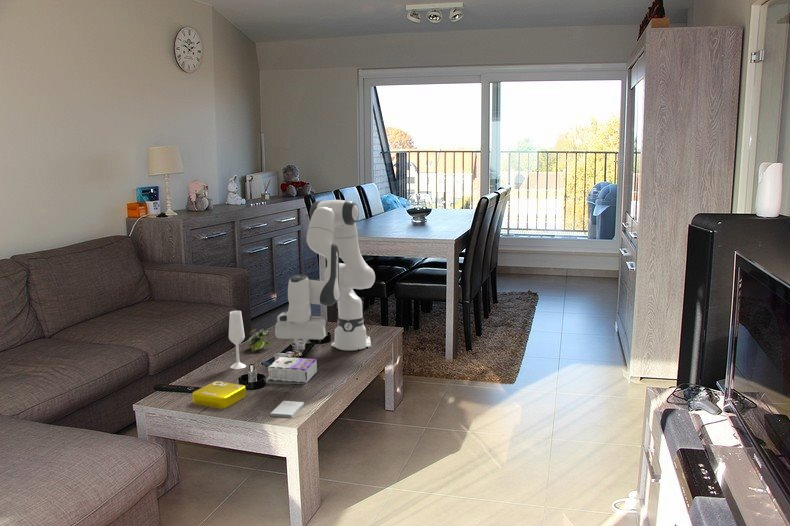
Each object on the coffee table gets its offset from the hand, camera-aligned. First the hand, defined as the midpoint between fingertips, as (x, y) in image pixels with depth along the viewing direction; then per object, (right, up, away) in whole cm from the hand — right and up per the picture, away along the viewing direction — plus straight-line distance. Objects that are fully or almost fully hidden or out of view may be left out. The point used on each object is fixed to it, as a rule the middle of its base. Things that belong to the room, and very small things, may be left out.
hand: (301, 349), depth 281 cm
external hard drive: (-1, -19, -31) cm, 37 cm away
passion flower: (-25, -5, +43) cm, 50 cm away
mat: (-5, -12, +3) cm, 13 cm away
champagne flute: (-29, -10, +18) cm, 36 cm away
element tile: (-28, -17, -20) cm, 38 cm away
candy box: (+4, -9, +1) cm, 10 cm away
